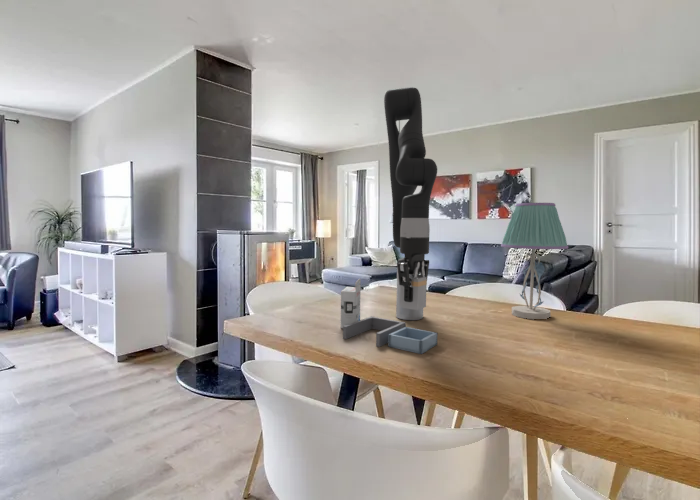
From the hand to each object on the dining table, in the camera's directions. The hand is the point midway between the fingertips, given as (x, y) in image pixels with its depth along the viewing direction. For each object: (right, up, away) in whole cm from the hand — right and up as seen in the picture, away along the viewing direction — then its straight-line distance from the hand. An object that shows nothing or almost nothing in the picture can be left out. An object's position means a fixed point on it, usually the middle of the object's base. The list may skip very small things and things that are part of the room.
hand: (413, 299), depth 99 cm
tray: (0, -12, +1) cm, 12 cm away
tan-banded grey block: (0, -2, 0) cm, 2 cm away
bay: (-10, -12, +8) cm, 17 cm away
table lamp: (+48, -11, +36) cm, 61 cm away
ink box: (-17, -11, +20) cm, 29 cm away
